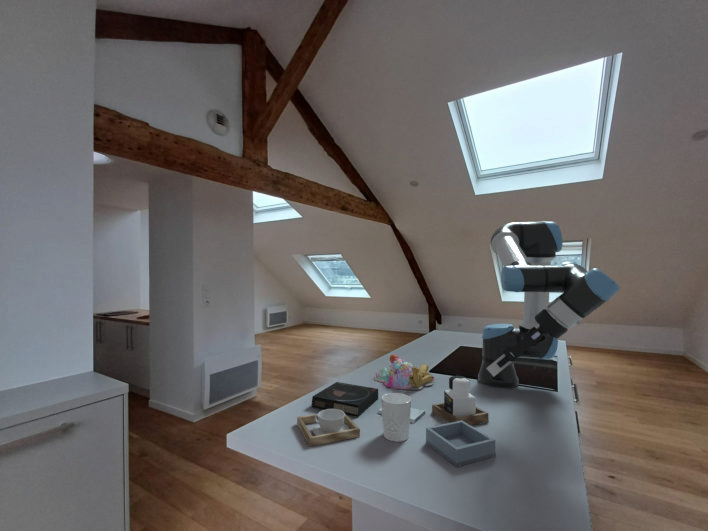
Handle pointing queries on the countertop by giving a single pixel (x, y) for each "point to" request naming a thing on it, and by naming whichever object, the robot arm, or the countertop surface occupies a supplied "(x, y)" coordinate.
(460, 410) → the medicine bottle
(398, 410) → the white cup
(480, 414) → the walnut holder
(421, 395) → the countertop surface
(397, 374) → the candy landscape model
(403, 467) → the countertop surface
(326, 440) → the oak cup rest
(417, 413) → the hard drive
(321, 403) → the portable cd player
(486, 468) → the countertop surface
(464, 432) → the grey tray
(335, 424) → the teacup
